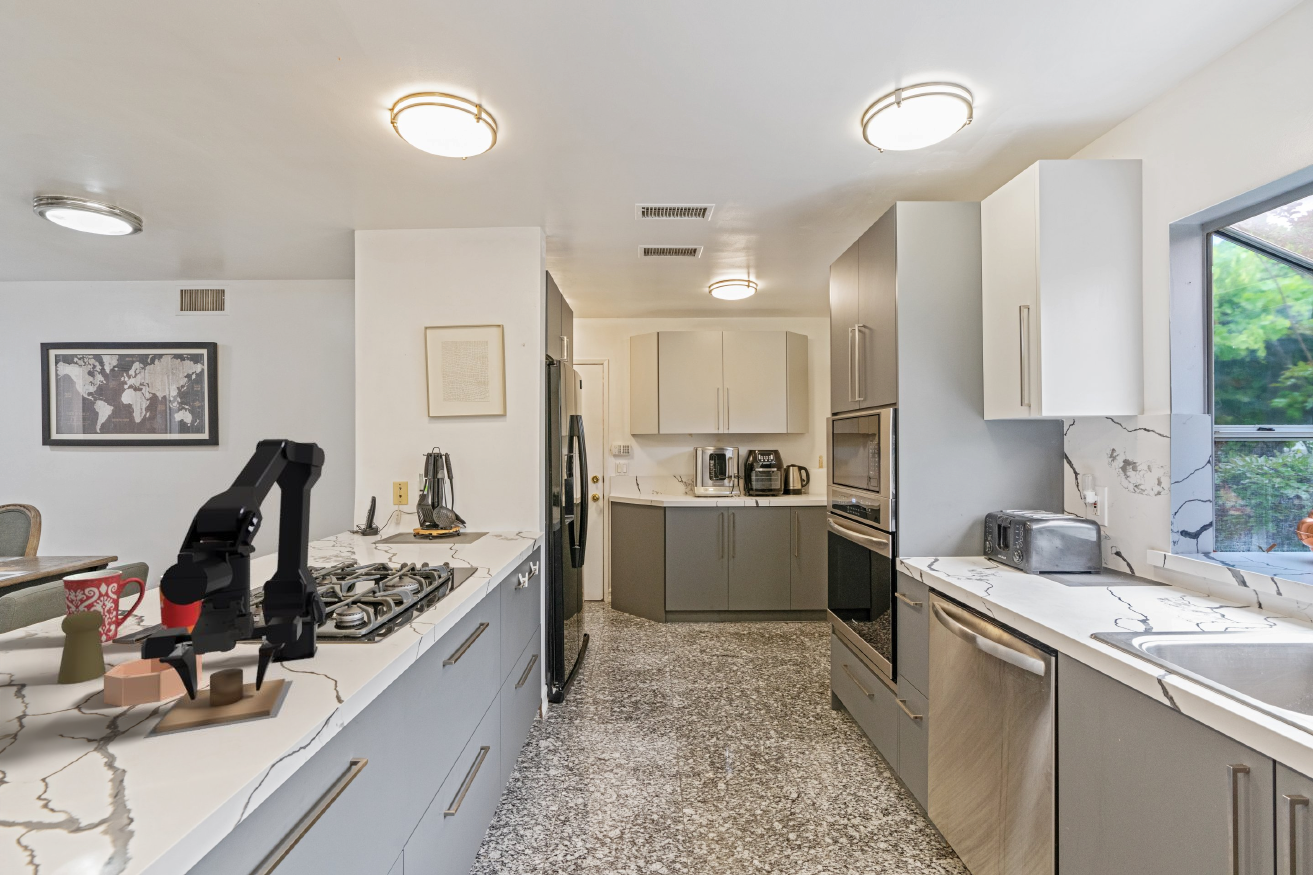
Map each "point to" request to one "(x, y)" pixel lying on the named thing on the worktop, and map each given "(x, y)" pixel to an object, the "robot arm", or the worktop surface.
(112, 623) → the mug
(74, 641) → the olive pepper mill
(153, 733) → the mat
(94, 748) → the worktop surface
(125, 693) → the bowl
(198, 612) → the paper cup
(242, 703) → the lid
